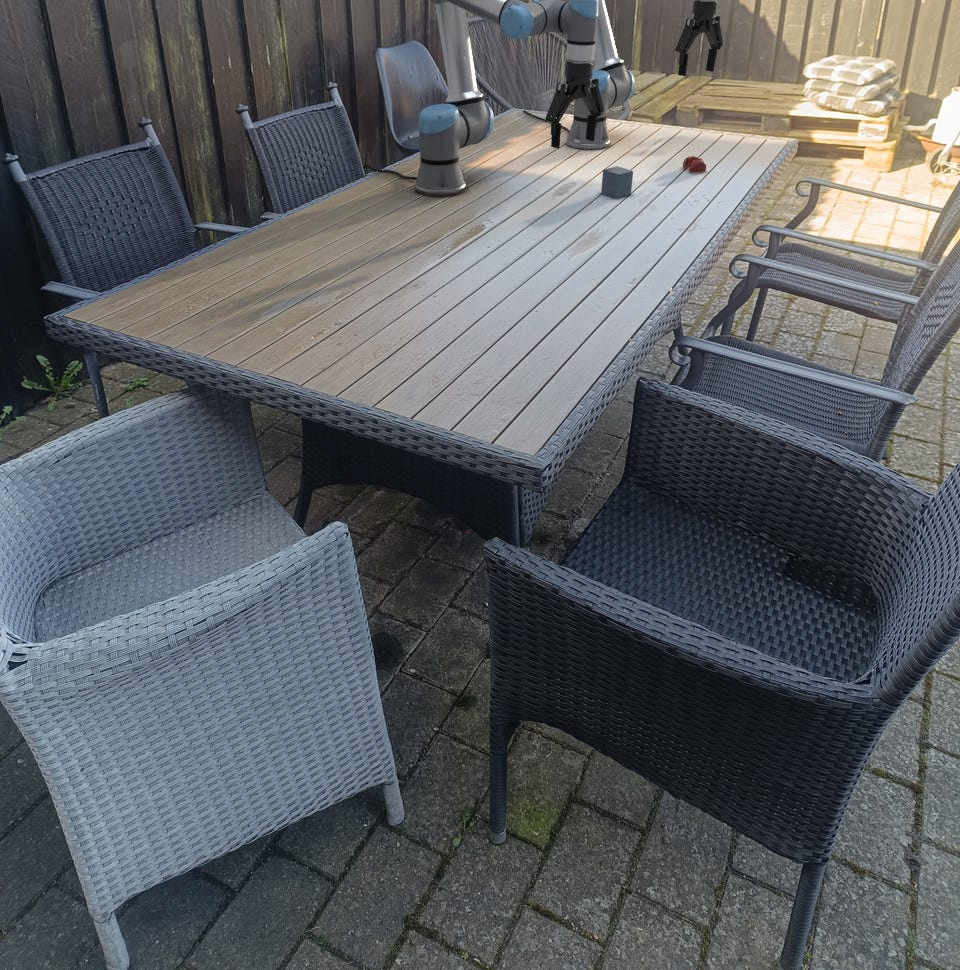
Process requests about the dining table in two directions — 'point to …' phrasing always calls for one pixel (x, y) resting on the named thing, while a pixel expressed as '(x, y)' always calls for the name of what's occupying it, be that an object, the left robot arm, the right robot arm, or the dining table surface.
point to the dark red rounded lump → (694, 164)
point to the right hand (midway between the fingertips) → (695, 73)
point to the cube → (617, 182)
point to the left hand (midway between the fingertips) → (572, 143)
